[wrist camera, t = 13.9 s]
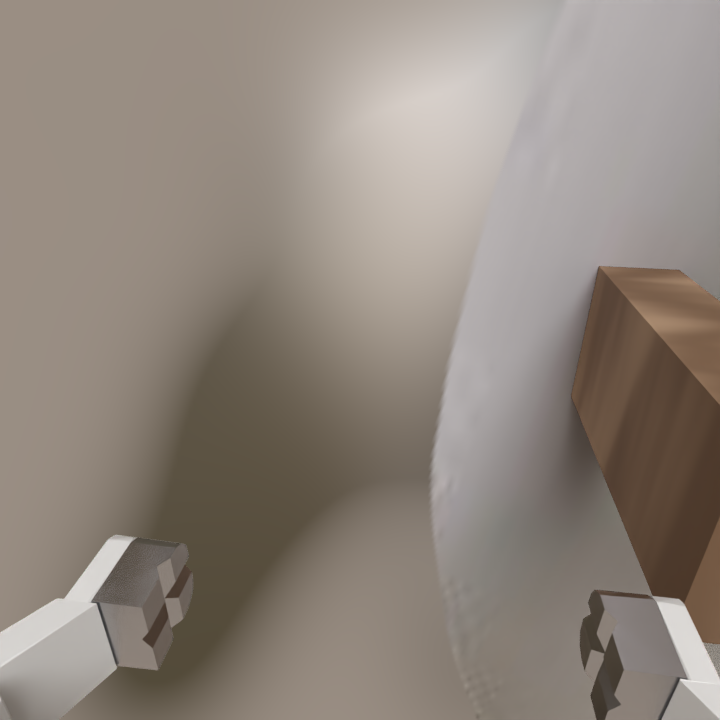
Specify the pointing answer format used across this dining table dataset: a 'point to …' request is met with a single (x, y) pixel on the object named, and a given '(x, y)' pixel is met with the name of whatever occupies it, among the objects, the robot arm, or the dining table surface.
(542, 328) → the dining table surface
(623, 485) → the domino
